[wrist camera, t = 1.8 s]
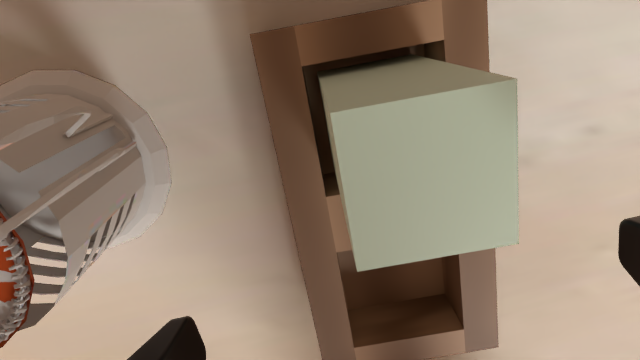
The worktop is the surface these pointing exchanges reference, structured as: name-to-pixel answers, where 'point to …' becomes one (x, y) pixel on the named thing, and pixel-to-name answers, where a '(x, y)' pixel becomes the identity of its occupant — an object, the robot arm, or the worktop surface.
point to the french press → (70, 182)
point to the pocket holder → (325, 202)
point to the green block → (423, 158)
